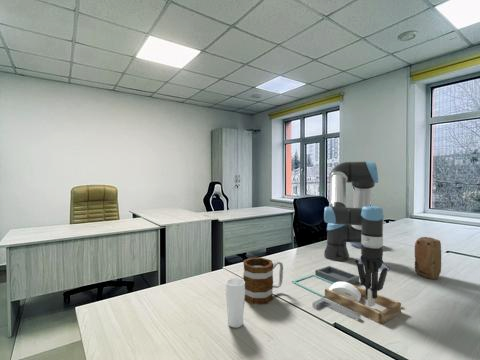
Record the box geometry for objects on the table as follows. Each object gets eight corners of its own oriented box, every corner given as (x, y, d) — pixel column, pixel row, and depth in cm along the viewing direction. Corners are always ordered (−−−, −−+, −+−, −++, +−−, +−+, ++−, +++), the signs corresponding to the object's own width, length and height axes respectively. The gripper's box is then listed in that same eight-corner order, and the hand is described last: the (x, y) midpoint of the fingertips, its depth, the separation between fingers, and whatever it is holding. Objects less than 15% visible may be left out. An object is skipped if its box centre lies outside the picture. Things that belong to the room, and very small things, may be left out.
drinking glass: (225, 319, 92) (225, 278, 91) (244, 318, 92) (244, 277, 92) (226, 330, 85) (226, 286, 85) (246, 329, 85) (246, 285, 85)
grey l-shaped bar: (312, 307, 100) (312, 302, 100) (322, 302, 104) (322, 297, 104) (351, 326, 88) (351, 321, 88) (360, 319, 92) (360, 314, 92)
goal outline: (291, 282, 124) (291, 281, 124) (313, 275, 133) (313, 274, 133) (323, 297, 108) (323, 296, 108) (345, 288, 117) (345, 287, 117)
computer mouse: (360, 304, 103) (360, 288, 103) (327, 296, 109) (327, 282, 109) (361, 297, 109) (361, 283, 109) (329, 290, 115) (330, 277, 115)
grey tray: (315, 275, 132) (315, 270, 132) (329, 271, 138) (329, 265, 138) (345, 288, 117) (345, 281, 117) (359, 282, 124) (359, 276, 124)
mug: (251, 307, 100) (251, 270, 99) (237, 293, 112) (237, 259, 112) (291, 297, 108) (291, 263, 108) (274, 285, 120) (274, 254, 120)
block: (442, 279, 128) (443, 240, 128) (432, 281, 125) (433, 241, 125) (421, 271, 138) (421, 235, 138) (411, 273, 136) (412, 236, 135)
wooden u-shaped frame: (324, 297, 108) (324, 289, 108) (344, 288, 116) (344, 281, 116) (381, 324, 88) (382, 314, 88) (401, 312, 96) (401, 303, 96)
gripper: (350, 243, 102) (350, 301, 102) (384, 251, 91) (383, 315, 91) (361, 240, 106) (360, 296, 106) (394, 248, 95) (393, 309, 96)
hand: (371, 305), depth 99 cm, fingers closed
